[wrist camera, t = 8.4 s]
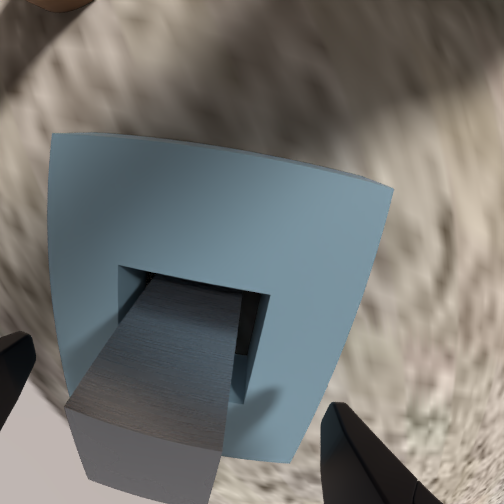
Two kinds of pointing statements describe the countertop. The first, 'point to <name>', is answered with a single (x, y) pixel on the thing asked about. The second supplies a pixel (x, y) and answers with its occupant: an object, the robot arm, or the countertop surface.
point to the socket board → (215, 261)
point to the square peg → (160, 393)
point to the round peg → (60, 4)
